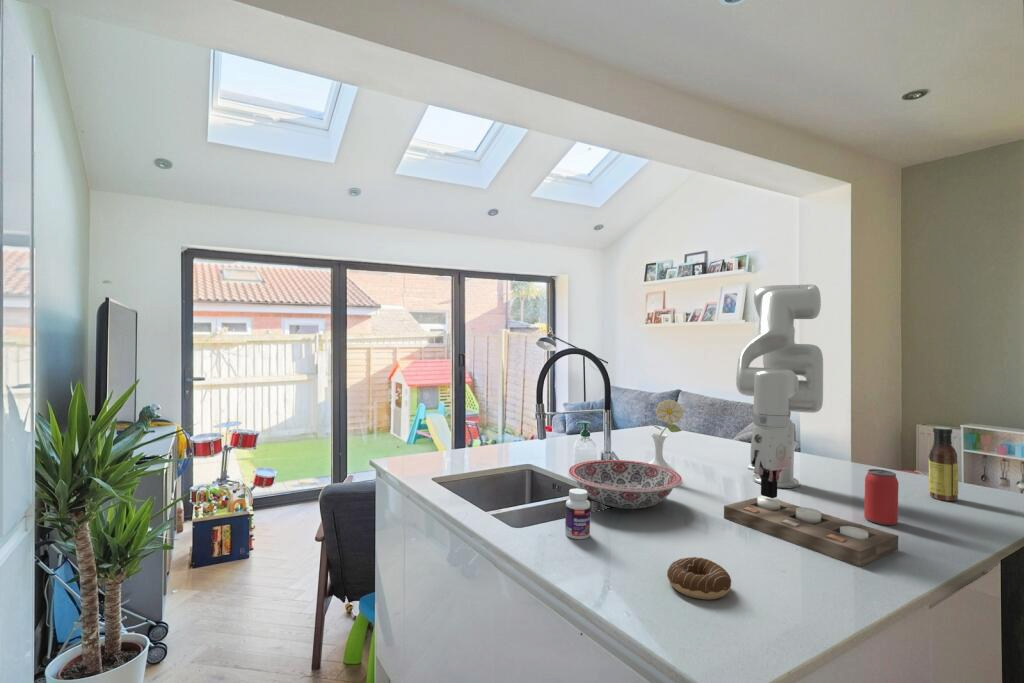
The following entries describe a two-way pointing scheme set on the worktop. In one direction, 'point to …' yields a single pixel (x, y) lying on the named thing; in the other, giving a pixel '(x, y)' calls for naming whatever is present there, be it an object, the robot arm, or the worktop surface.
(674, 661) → the worktop surface
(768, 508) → the left button
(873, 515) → the beer can
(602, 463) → the ceramic bowl
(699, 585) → the donut
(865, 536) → the right button
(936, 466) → the sauce bottle
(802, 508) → the middle button
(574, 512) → the pill bottle
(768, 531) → the button board
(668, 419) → the flower in vase
